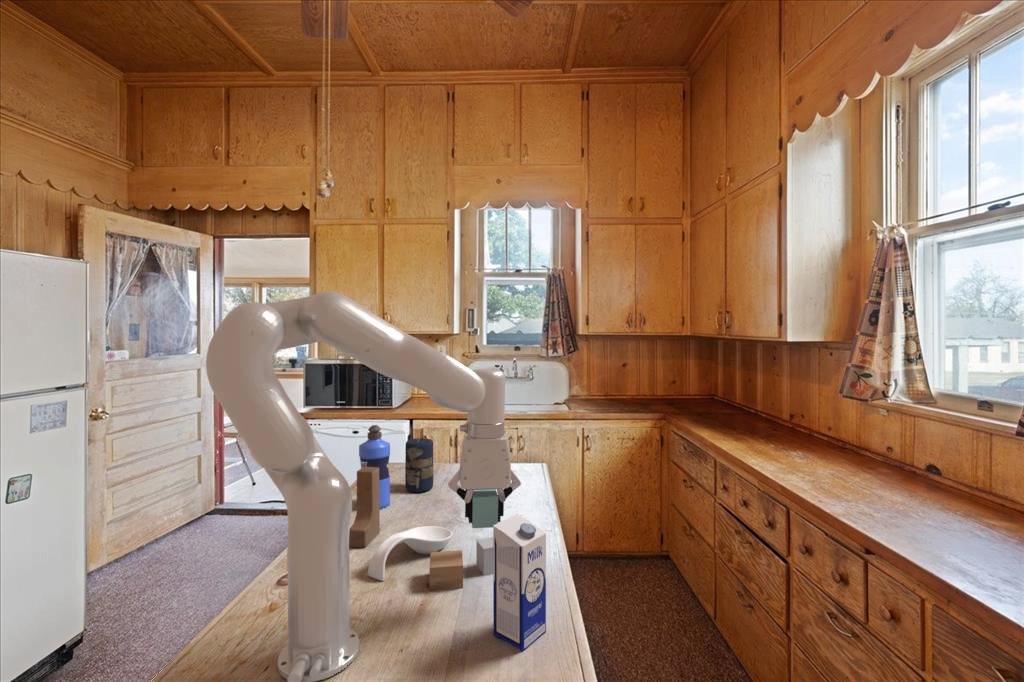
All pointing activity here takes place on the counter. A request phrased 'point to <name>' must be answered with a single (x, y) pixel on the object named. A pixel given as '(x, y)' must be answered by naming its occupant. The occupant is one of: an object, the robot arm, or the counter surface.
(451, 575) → the walnut block
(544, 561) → the milk carton
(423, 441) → the canister
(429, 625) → the counter surface
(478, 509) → the teal block
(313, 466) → the robot arm
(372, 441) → the water bottle
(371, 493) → the wooden block
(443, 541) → the spoon rest
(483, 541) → the grey block
